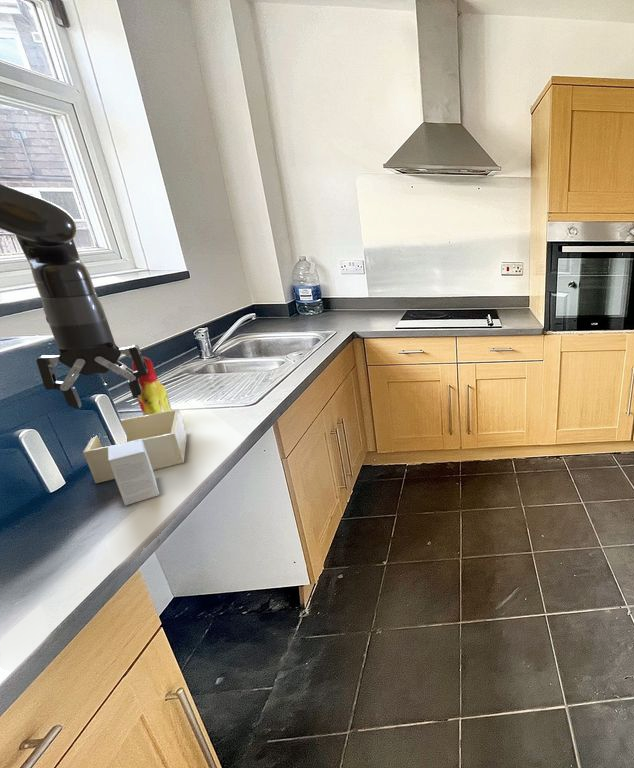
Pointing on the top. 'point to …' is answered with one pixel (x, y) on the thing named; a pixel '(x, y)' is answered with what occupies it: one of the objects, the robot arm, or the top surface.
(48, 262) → the robot arm
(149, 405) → the bottle
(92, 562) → the top surface
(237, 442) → the top surface
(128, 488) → the small box
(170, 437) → the beige open box
